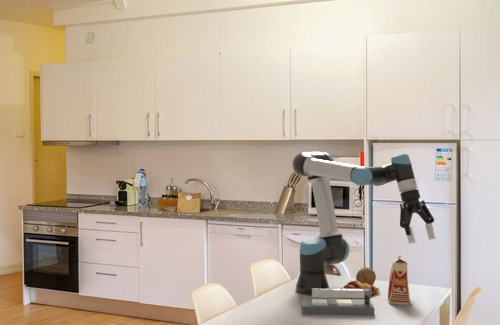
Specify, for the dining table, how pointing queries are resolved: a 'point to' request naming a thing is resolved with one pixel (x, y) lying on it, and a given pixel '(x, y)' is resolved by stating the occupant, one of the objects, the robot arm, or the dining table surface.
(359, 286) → the croissant
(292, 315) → the dining table surface
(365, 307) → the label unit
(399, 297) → the milk carton
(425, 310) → the dining table surface
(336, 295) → the swing arm
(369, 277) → the natural sponge
